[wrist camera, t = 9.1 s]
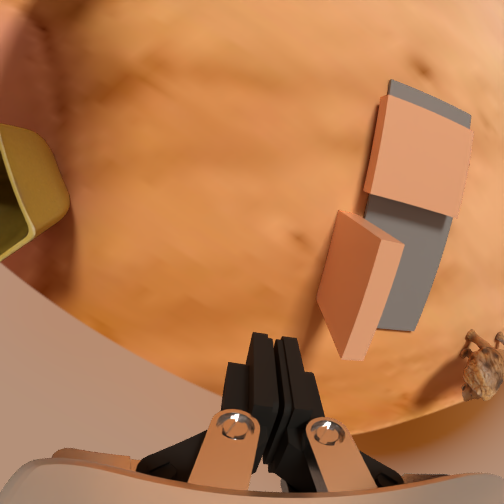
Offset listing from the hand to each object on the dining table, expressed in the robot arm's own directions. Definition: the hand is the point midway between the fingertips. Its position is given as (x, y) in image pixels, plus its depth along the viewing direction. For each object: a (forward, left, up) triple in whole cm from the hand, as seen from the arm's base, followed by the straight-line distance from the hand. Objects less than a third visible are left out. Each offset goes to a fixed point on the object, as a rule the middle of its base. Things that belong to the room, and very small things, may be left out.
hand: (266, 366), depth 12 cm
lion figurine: (+8, +29, -15) cm, 34 cm away
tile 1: (0, +7, -15) cm, 16 cm away
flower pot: (-2, -20, -15) cm, 25 cm away
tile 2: (-10, +7, -14) cm, 19 cm away
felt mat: (-5, +13, -15) cm, 20 cm away
